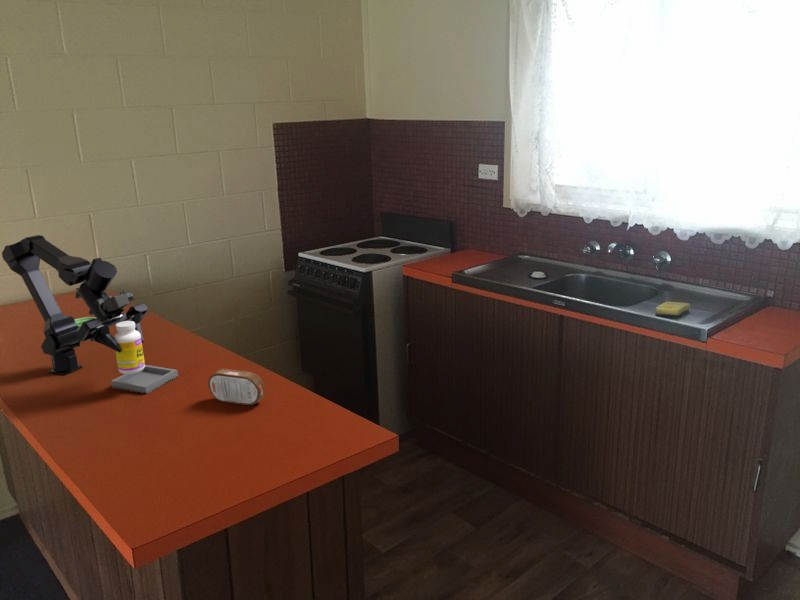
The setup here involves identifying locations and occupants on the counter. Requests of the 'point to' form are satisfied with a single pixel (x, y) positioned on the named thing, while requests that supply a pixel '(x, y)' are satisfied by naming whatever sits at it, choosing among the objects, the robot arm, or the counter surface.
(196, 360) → the counter surface
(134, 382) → the tray
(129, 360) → the supplement bottle
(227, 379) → the tin
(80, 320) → the ramekin
